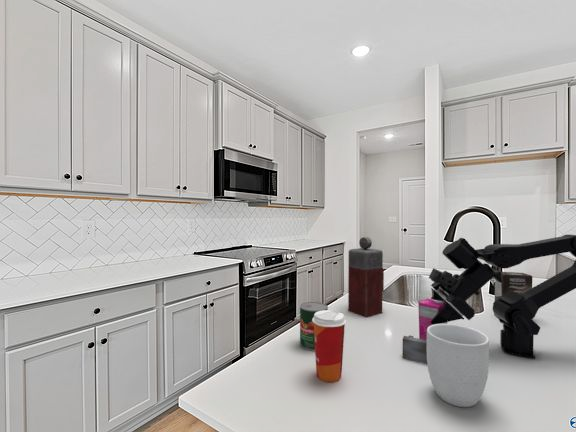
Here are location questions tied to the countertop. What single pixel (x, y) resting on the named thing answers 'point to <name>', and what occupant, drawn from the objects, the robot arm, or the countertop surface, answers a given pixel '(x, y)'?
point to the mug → (457, 363)
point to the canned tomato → (309, 323)
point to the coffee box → (513, 283)
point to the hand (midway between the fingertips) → (427, 318)
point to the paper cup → (329, 344)
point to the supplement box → (427, 315)
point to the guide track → (414, 349)
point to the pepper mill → (365, 279)
